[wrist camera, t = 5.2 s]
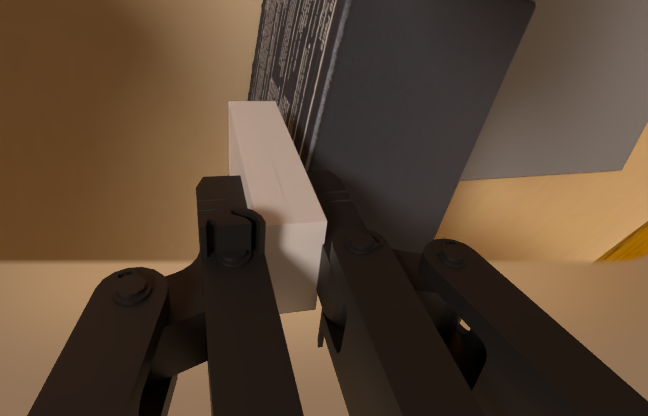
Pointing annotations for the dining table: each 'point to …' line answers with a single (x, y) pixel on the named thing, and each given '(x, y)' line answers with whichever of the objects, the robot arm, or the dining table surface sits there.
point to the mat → (569, 93)
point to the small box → (388, 96)
